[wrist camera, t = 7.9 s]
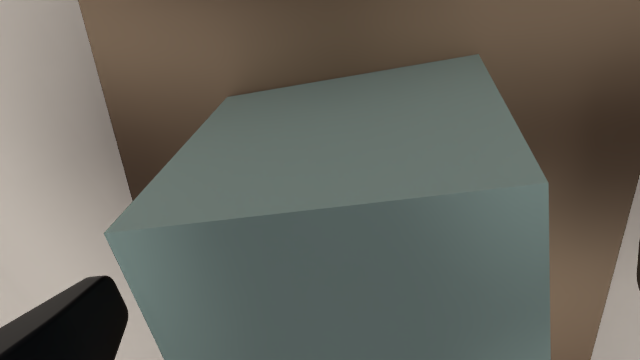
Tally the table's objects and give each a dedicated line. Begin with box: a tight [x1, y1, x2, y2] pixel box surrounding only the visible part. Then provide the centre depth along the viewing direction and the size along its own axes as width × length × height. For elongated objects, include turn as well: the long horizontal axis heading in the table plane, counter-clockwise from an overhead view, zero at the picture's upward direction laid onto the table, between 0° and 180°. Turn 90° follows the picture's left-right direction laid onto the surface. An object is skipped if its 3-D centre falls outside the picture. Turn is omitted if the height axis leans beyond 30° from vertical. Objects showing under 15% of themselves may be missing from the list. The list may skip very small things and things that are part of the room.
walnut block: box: [78, 0, 640, 360], centre depth 13 cm, size 11×11×5 cm
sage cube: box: [104, 54, 551, 360], centre depth 9 cm, size 5×5×5 cm
